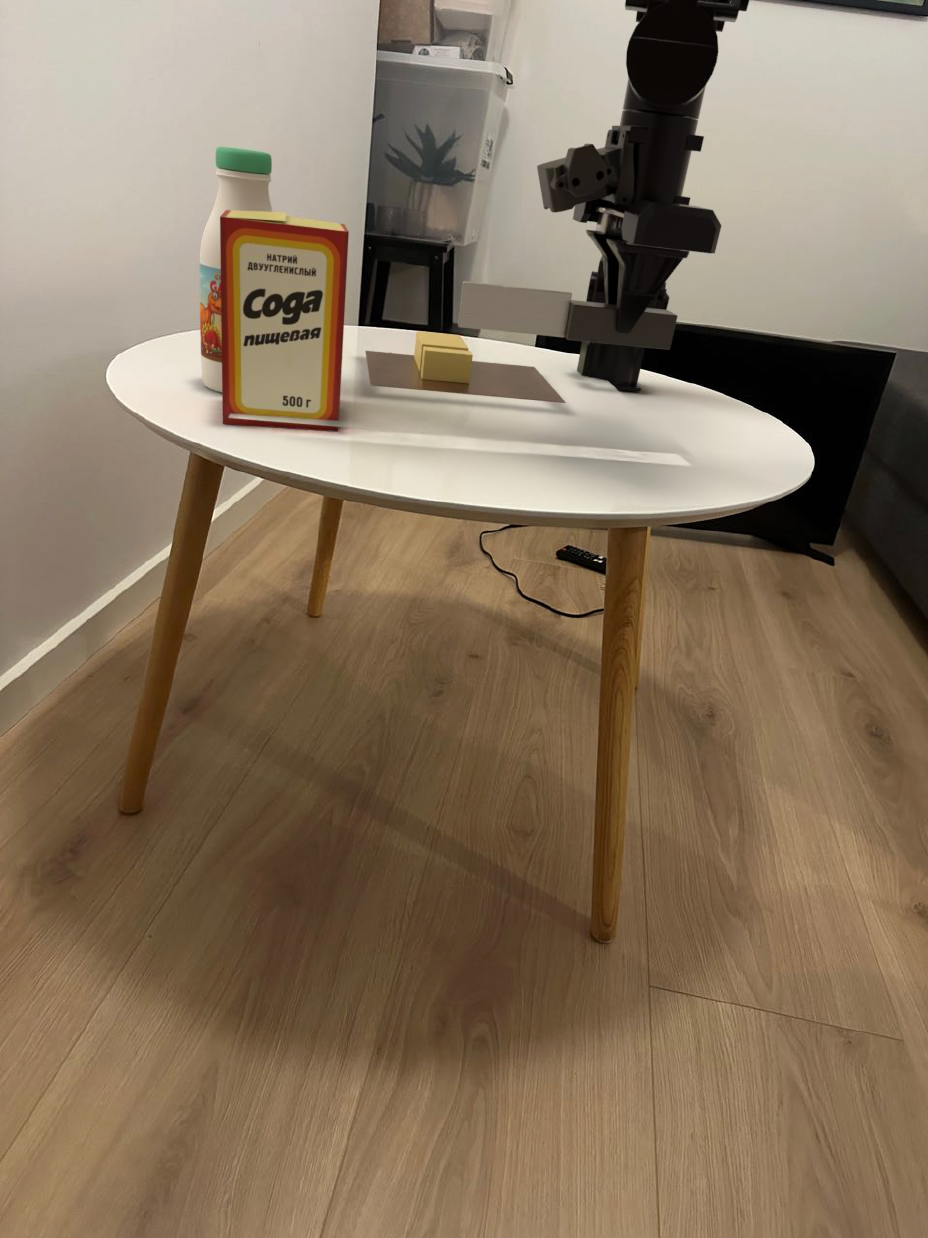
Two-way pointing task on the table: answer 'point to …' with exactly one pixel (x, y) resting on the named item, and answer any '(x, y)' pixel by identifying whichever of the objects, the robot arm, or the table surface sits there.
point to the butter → (436, 343)
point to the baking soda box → (282, 317)
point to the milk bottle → (240, 191)
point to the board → (482, 382)
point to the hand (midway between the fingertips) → (617, 329)
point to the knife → (558, 316)
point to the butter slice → (446, 365)
